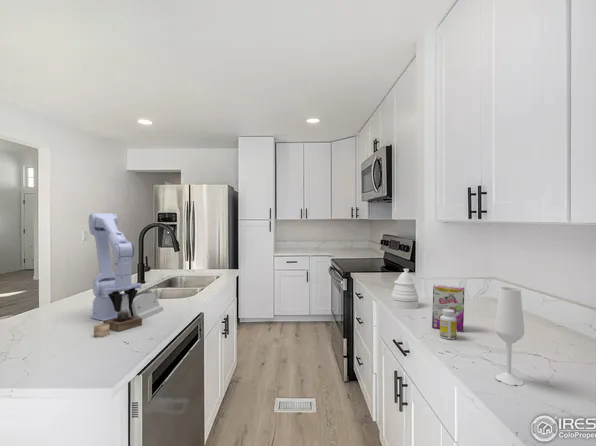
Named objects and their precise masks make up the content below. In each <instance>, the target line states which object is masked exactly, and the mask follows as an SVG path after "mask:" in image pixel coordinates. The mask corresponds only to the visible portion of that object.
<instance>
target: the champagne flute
mask: <svg viewBox="0 0 596 446" xmlns="http://www.w3.org/2000/svg"><path fill="white" fill-rule="evenodd" d="M522 301H523V300H522V291H521V289H520V288H518V287H517V288H516V287H508V286H501V287H499V289H498V296H497V305H496V314H495V320H494V321H495V322H494V331H495V334H496V335H497V336H498V337H499V338H500V339H501V340H502V341H503V342H505V344H506V345H505V347H506V350H505V351H506V353H505V356H506V357H505V372H501V373H498V375H497V374H495V375H496V378H497V379H498V380H501V381H503V382H505V383H508V384H519V383H520V382H521V379H520V378H518V377H517V376H516V375H514V374H513V373H512V347H513V346H512V345H513V344H515V343H516V342H518V341H519V340H521V339H522V338H524V335H525V323H524V311H523V302H522Z"/></svg>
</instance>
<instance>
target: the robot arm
mask: <svg viewBox="0 0 596 446" xmlns="http://www.w3.org/2000/svg"><path fill="white" fill-rule="evenodd" d="M118 223H119V219H118V215H117V214H116V213H115V212H114V213H109V212H108V213H106V212H105V213H100V212H99V213H98V212H97V213H96V212H90V214H89V216H88V228H89V230H88V231H89V233H90V235H92V236H93V237H94V240H95V245H96V255H97V263H98V268H99V274H98V275H96V276H95V277H94V278H93V279H92V293H93V295H94V296H95V297H94V299H93V301H92V316H90V319H95V320H99V321H102V322H103V321H104V320H108V319H112V318H116V317H117V312H120V302H121V297H122V294H121V293H122V292H123V293H129V309H131V306H132V303H133V300H134V298H135V297H136V296H137V294H138V293H139V292H138V289H142V285H143V284H142V283H140V282H135V283H132V274H133V273H132V271H133V270H132V265H133V264H132V260H133V259H132V258H134V255H135V246H134V243H133V242H131V241H128V240H127V237H125V234H124V233H123V232H122V231H119V229H118ZM110 246H111V248H112V251H111V248H110ZM111 252H112V256H113V257H112V256H111ZM112 258H113V259H112ZM112 260H113V263H114V270H113V263H112Z"/></svg>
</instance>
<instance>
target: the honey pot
mask: <svg viewBox="0 0 596 446" xmlns="http://www.w3.org/2000/svg"><path fill="white" fill-rule="evenodd" d="M403 271H404V272H402V273H400V275H399V276H398V277H397V279H396V280H394V282H393V283H394V287H393V289H392V292H391V294H390V297H391V298H390V305H391V307H393V308H396V309H402V310H414V309H413V308H416V309H418V308H419V295H418V292H417V288H416V286H415V285H416V282H415V281H414V280H413V278H412V277H411V275H410V274H409V271H410V269H409V268H403ZM417 307H418V308H417Z"/></svg>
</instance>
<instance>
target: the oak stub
mask: <svg viewBox="0 0 596 446" xmlns="http://www.w3.org/2000/svg"><path fill="white" fill-rule="evenodd" d="M110 331H111V330H110V324H103V323H99V324H98V323H97V324H96V325H93V338H96V337H101V338H104V336H106V337H108V336H110ZM107 335H108V336H107Z"/></svg>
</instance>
